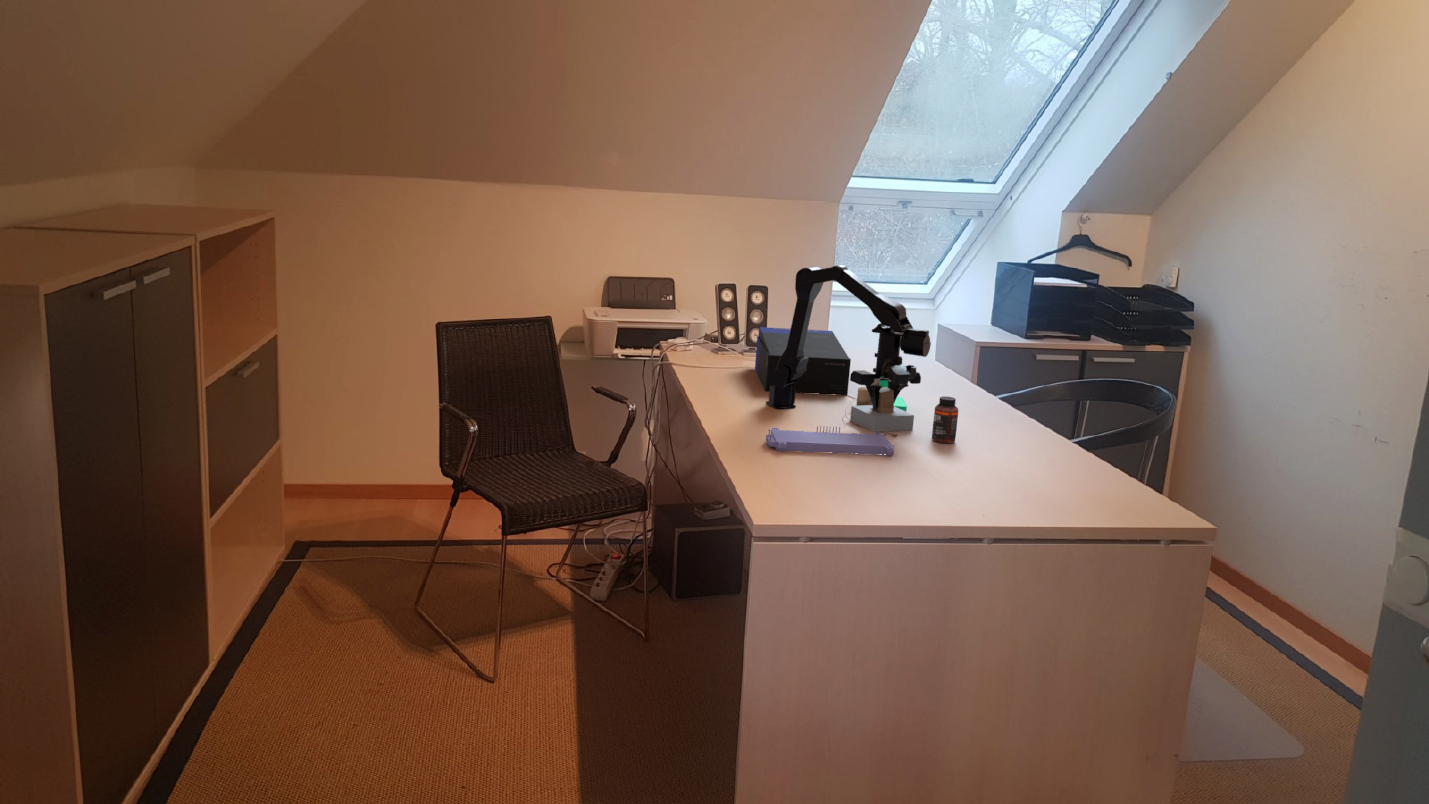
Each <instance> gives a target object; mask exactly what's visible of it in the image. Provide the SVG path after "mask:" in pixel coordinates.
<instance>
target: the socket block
mask: <svg viewBox="0 0 1429 804" xmlns="http://www.w3.org/2000/svg"><path fill="white" fill-rule="evenodd" d="M849 419H850V421H851V422H853V423H854V424H857V425H858V426H861V427H863V428H865V427H866V428H865V429H867V430H869V431H871V432H873V433H875V432H879V433H882V432H899V431H913V429H914V422H915V421H914V420H915V414H912V413H910V412H908V411H907V410H906V411H903V410H901V409H899V408H897V407H894V413H878V412H875V411H873V405H862V406H856V405H851V411H850V418H849Z"/></svg>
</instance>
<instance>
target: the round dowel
mask: <svg viewBox="0 0 1429 804" xmlns="http://www.w3.org/2000/svg"><path fill="white" fill-rule="evenodd" d="M862 405H873V404H872V401H871V398H870V395H869V392H868V390H867V388H866V386H862V387H858V388H857V396H856V405H855V406H862Z"/></svg>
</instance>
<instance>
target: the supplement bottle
mask: <svg viewBox="0 0 1429 804" xmlns="http://www.w3.org/2000/svg"><path fill="white" fill-rule="evenodd" d="M956 400H957V399H956V398H955V397H952V396H947V395H946V396H944V395H943V396H940V397H939V401H938V402H939V403H938V404H936V405H935V407H934V414H933V422H932V423H933V424H932V431H931V432H932V434H931V439H932V441H934V442H936V443H940V444H954V443H955V442H956V437H957V429H958V428H957V427H958V418H959V408H958V407H957V406H956Z"/></svg>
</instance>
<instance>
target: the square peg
mask: <svg viewBox="0 0 1429 804" xmlns="http://www.w3.org/2000/svg"><path fill="white" fill-rule="evenodd" d="M873 411H875V412H878V413H894V390H891V389H889V388H886V387H883V388H881V389H880V391H879V400H878V407H877V409H874V407H873Z"/></svg>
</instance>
